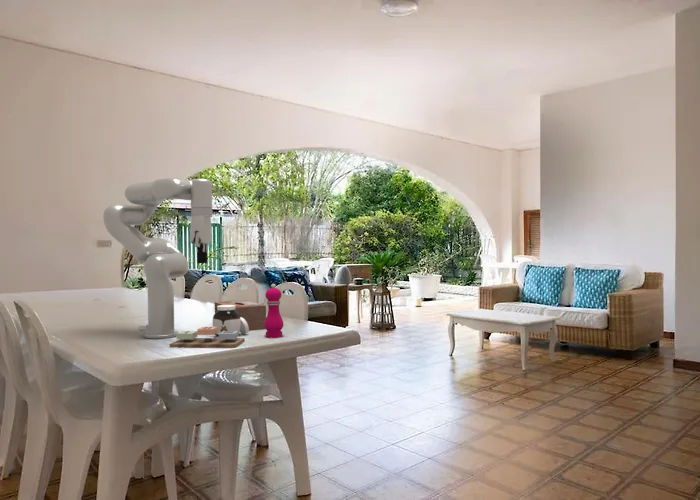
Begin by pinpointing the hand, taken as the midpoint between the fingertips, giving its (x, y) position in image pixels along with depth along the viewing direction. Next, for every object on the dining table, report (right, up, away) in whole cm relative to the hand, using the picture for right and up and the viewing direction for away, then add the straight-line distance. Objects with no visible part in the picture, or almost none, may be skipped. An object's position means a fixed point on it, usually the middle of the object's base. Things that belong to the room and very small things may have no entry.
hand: (202, 263), depth 202 cm
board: (+4, -29, -8) cm, 30 cm away
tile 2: (+4, -25, -8) cm, 26 cm away
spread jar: (+9, -28, +10) cm, 31 cm away
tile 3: (+12, -26, -8) cm, 30 cm away
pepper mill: (+25, -28, +7) cm, 39 cm away
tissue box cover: (+7, -28, +33) cm, 44 cm away
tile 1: (-3, -26, -7) cm, 27 cm away
